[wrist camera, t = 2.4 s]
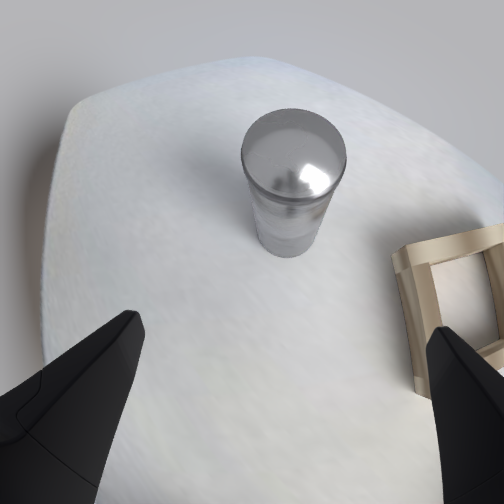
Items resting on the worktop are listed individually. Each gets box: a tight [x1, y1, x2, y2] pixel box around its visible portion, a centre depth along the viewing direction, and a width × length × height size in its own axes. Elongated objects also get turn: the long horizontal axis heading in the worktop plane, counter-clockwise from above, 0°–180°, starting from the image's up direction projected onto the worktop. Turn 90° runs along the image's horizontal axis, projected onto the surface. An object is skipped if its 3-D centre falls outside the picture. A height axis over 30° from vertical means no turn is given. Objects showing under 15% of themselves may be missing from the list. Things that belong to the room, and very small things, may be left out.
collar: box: [391, 223, 504, 400], centre depth 19 cm, size 11×11×3 cm
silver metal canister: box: [241, 109, 347, 258], centre depth 18 cm, size 5×5×11 cm
